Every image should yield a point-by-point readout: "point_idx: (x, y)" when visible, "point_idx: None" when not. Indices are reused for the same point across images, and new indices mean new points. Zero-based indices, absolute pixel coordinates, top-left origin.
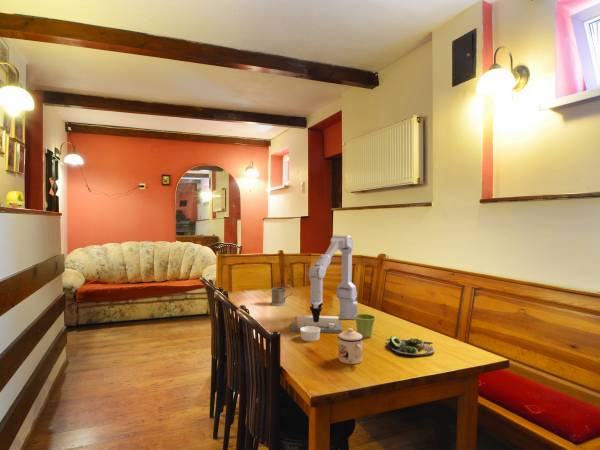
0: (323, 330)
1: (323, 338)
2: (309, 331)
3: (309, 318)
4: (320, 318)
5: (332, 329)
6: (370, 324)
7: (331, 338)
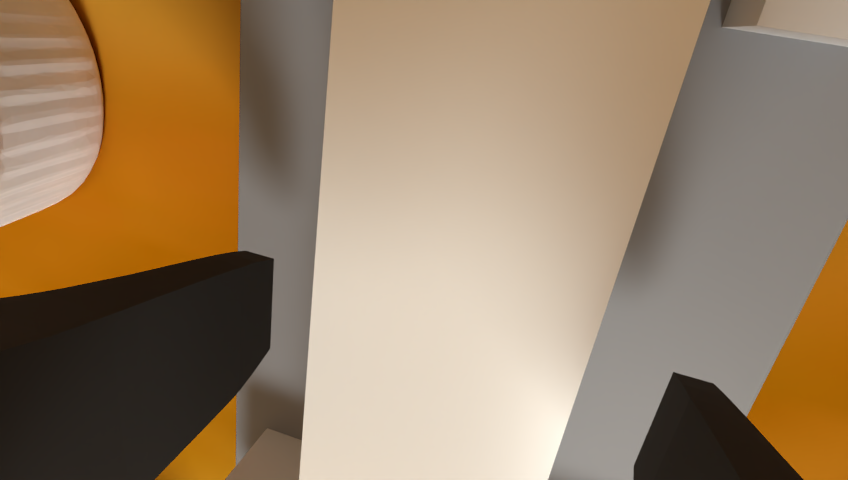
0: None
1: (43, 255)
2: (25, 80)
3: (337, 177)
4: (307, 453)
5: (236, 459)
6: None
7: None
